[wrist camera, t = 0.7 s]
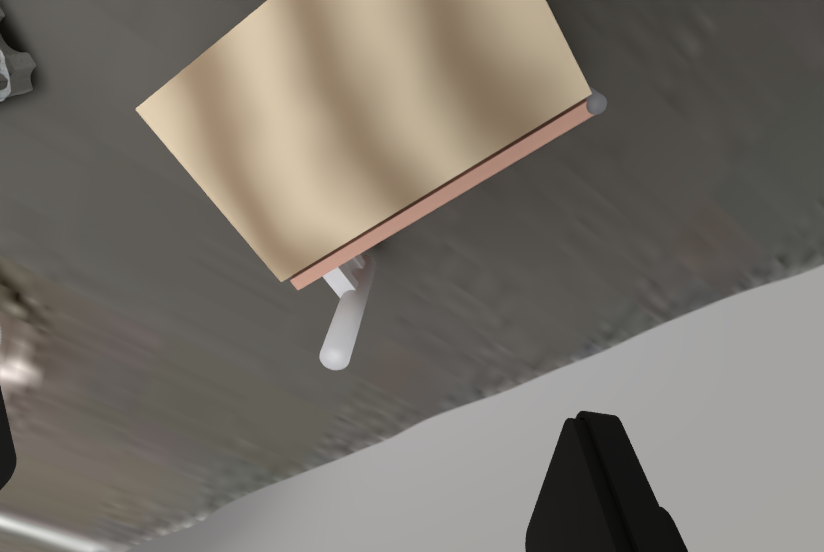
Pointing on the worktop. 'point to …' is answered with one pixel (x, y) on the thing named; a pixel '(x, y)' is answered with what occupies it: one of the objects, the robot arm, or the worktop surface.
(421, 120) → the cabinet
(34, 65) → the egg carton
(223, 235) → the worktop surface
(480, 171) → the door
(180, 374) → the worktop surface
